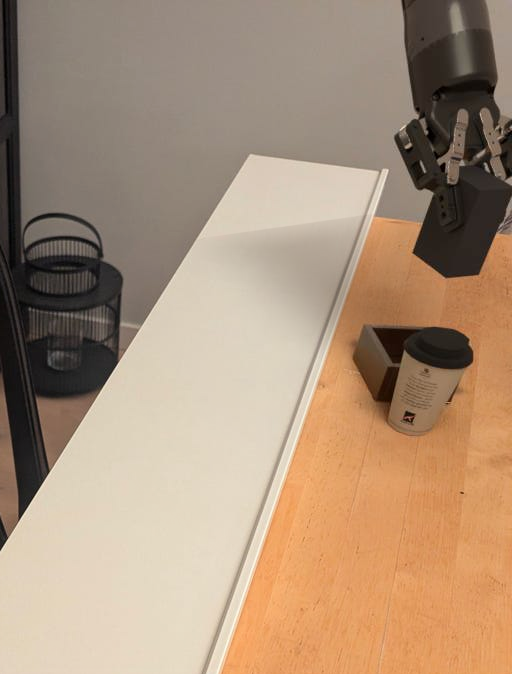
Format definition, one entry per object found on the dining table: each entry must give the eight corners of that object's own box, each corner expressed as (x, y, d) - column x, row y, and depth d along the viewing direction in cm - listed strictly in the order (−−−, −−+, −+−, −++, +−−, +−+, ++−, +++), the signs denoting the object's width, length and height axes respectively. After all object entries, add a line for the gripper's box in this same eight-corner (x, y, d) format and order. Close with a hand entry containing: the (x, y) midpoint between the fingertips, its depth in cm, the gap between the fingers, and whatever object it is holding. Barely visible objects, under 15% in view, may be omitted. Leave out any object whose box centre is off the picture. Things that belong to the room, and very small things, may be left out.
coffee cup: (405, 447, 96) (441, 360, 88) (363, 412, 100) (394, 327, 93) (455, 434, 98) (494, 349, 91) (412, 401, 102) (446, 317, 95)
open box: (422, 360, 109) (436, 326, 106) (450, 404, 102) (465, 369, 99) (352, 358, 108) (363, 323, 105) (375, 401, 102) (387, 366, 99)
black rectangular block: (443, 250, 96) (476, 164, 90) (478, 275, 93) (515, 187, 86) (411, 253, 95) (442, 166, 89) (445, 278, 92) (480, 190, 85)
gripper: (411, 26, 83) (439, 215, 84) (538, 24, 87) (564, 206, 88) (362, 75, 90) (388, 248, 91) (481, 71, 94) (505, 238, 95)
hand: (474, 226), depth 89 cm, fingers closed on black rectangular block, 4 cm apart
